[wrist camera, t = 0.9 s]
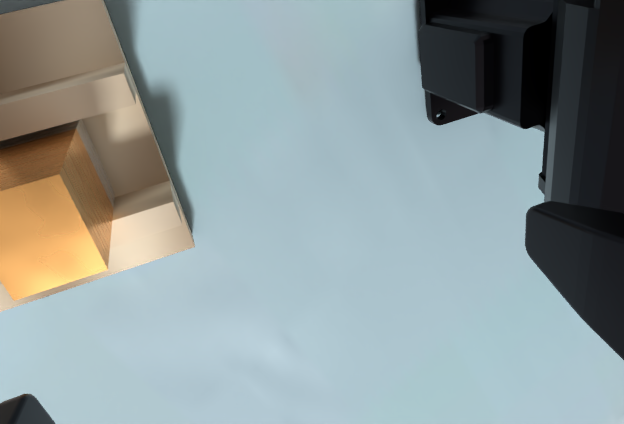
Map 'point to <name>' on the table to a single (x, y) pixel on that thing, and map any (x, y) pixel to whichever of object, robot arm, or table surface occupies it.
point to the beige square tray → (91, 123)
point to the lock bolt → (52, 210)
